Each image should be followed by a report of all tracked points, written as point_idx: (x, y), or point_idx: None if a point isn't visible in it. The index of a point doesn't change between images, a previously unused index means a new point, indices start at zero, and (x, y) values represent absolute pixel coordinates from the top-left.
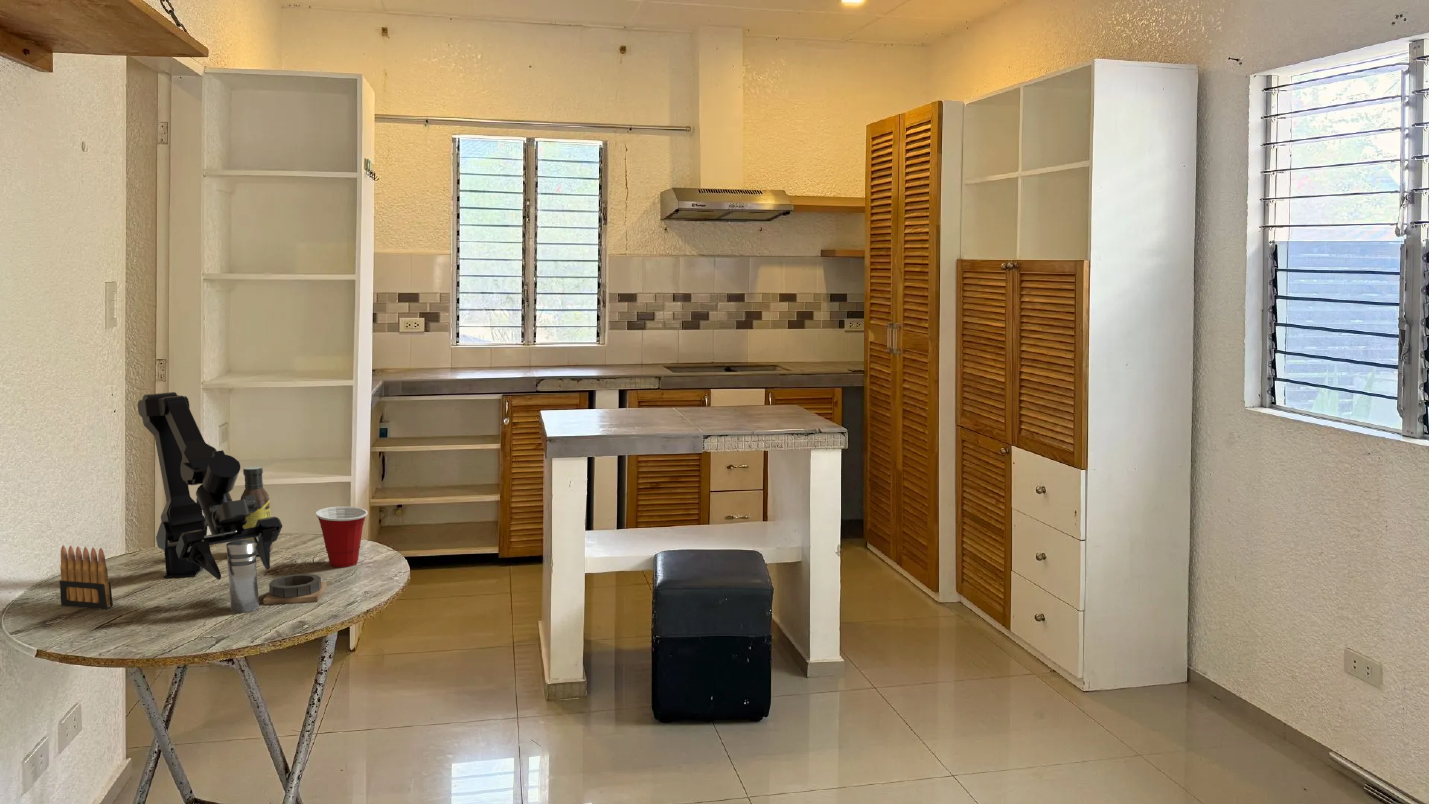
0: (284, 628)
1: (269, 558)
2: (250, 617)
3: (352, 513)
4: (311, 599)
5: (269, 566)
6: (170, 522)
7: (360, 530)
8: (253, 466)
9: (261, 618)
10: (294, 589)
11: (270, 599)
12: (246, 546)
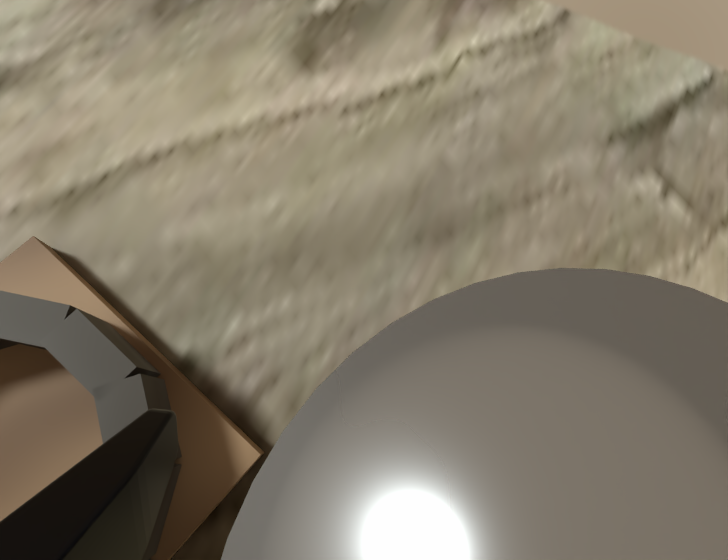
0: (403, 42)
1: (73, 469)
2: (431, 295)
3: None
4: (65, 262)
5: (153, 410)
6: None
7: None
8: None
9: (402, 236)
10: (93, 320)
11: (230, 423)
12: (590, 280)
